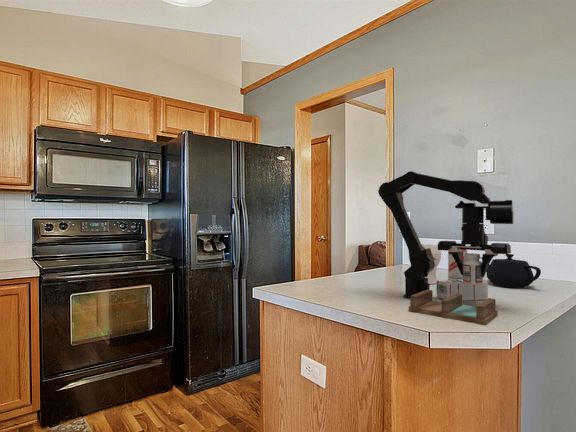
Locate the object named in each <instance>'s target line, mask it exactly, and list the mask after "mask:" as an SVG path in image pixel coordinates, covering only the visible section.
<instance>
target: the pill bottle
mask: <svg viewBox="0 0 576 432" xmlns="http://www.w3.org/2000/svg"><path fill="white" fill-rule="evenodd" d="M480 257H481V254H479V253H469V252H467V253H466V254H465V258H466V261H464V262H463V283H464V284H469V285H482V284H483V281H484V280H483V279H484V277H482V273H481V271H482V260H480V259H481V258H480Z"/></svg>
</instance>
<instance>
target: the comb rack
mask: <svg viewBox="0 0 576 432" xmlns="http://www.w3.org/2000/svg"><path fill="white" fill-rule="evenodd" d="M433 296H434V295H433V289H430V290H425V291H422V292H420V293H417V294H414V295H411V298H410V304H409V306H408V312H412V311H413V313H419V314H424V315H430V316H435V317H439V318H445V319H450V320H456V321H462V322H467V323H474V324H477V325H478V324H479V325H482V326H483V325H484V326H487V325H489V323H490V322H492V321H493V320H494V319H495V318H496V317H497V316H498V310H497V309H496V299H495V298H491V297H488V299H486V300H484V301H483V300H482V302H481V303H479V304H477V305H476V306H473V305H472V306H471V305H465V304H463V301H462V294H455V295H452V296H450V297H448V298H446V299H444V300H443V299H441V301H437V300H433Z"/></svg>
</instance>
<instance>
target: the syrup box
mask: <svg viewBox="0 0 576 432" xmlns="http://www.w3.org/2000/svg"><path fill="white" fill-rule="evenodd" d="M488 284H489V282H488V281H485V280H483V284H482V285H469V284H464V283H463V279H458V280H448V279H437V283H436V288H435V289H436V298H439V299H440V300H444V299H446V298H448V297H450V296H452V295H455V294H462V302H463V301H480V300H481V301H483V300H484V301H485V300H487V299H488V298H489V295H488V293H489V292H488V291H489V285H488Z"/></svg>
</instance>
